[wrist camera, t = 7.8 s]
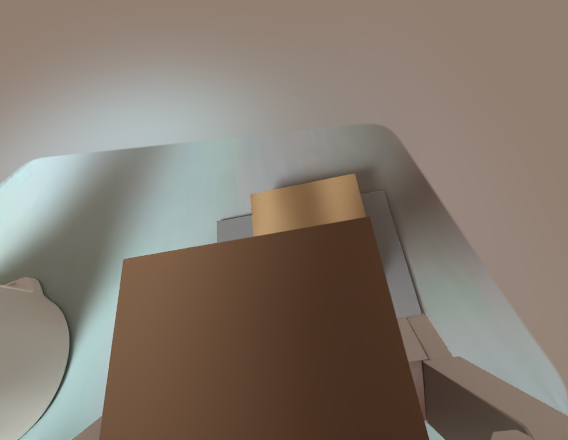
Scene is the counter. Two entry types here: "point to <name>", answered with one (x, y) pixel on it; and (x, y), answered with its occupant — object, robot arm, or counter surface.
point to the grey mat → (386, 243)
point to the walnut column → (261, 343)
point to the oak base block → (306, 205)
